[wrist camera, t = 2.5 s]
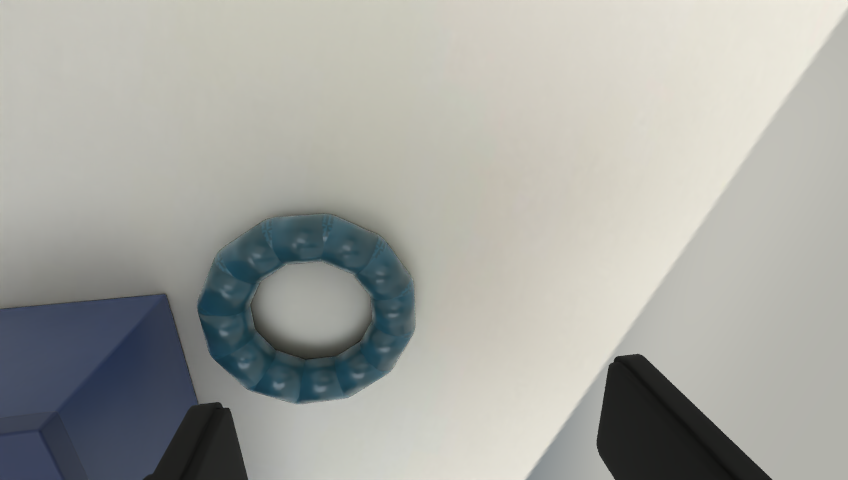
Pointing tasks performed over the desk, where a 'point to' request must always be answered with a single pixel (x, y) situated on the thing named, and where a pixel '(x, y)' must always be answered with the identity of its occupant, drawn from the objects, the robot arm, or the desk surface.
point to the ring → (293, 244)
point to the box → (90, 389)
